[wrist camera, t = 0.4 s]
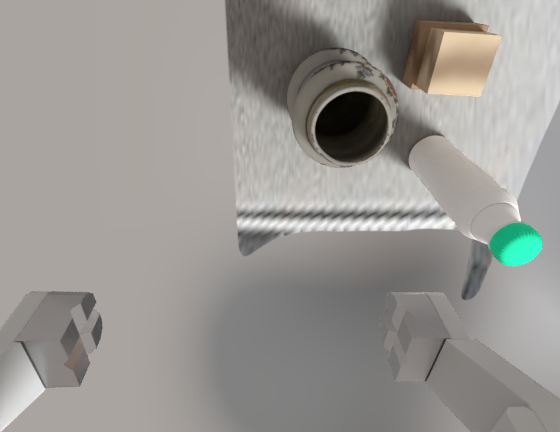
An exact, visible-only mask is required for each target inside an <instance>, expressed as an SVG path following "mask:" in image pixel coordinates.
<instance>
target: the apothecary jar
mask: <svg viewBox="0 0 560 432" xmlns="http://www.w3.org/2000/svg"><path fill="white" fill-rule="evenodd" d="M287 108H288V112H289V115H290V118H291V120H292V126H293V131H294V135H295V137H296V140H297V142H298V144H299V145H300V147H301V148H302V150H303V151H304V152H305V153H306V154H307V155H308V156H309V157H310V158H312V159H313V160H315V161H316V162H318V163H320V164H323V165H326V166H330V167H338V168H344V167H351V166H355V165H359V164H362V163H365V162H367V161H369V160H371V159H372V158H374V157H375V156H376V155H377V154H379V153H380V152H381V150H382V149H383V148H384V147H385V146H386V144H387V143H388V141H389V140H390V138H391V137H392V135H393V133H394V130H395V128H396V125H397V121H398V113H399V106H398V99H397V95H396V92H395V89H394V87H393V85H392V84H391V82H390V81H389V79H388V78H387V77H386V76H385V75H384V74H383V73H382V72H381V71H380V70H378V69H377V68H375V67H373V66H372V65H371V64H370V63H369V62H368V61H367V60H366V59H365V58H364V57H363V56H362V55H360V54H358V53H357V52H354V51H352V50H349V49H344V48H330V49H325V50H321V51H318V52H316V53H314V54H312V55H311V56H309V57H308V58H307V59H305V60H304V61H303V62H302V63H301V64H300V65H299V66H298V68H297V69H296V71H295V72H294V74H293V76H292V78H291V80H290V83H289V86H288V90H287Z"/></svg>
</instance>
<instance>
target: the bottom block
mask: <svg viewBox="0 0 560 432" xmlns="http://www.w3.org/2000/svg"><path fill="white" fill-rule="evenodd" d="M488 27H489V26H488V25H483V24H478V23H471V22H452V21H432V20H416V22H415V26H414V31H413V35H412V40H411V44H410V49H409V53H408V58H407V62H406V67H405V71H404V76H403V80H402V83H403V84H405V85H406V86H407V87H409V88H410V89H420V88H418V87H417V86H416V83H417V79H418V75H419V71H420V68H421V64H422V60H423V56H424V52H425V48H426V44H427V41H428V37H429V33H430V29H431V28H441V29H455V30H470V31H484V32H487V30H488Z"/></svg>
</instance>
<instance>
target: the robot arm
mask: <svg viewBox="0 0 560 432" xmlns="http://www.w3.org/2000/svg"><path fill="white" fill-rule="evenodd" d="M95 304H96V300H95V297H94V295H93V293H89V292H55V291H52V292H42V291H41V292H39V291H32V292H30V293H28V294H26V295H25V297H24V298H23V299H22V301H21V302H20V303H19V305H18V306H17V308H16V309H15V310H14V312H13V313H12V314H11V316H10V317H9V319H8V320H7V321H6V322H5V324H4V325H3V326H2V328H1V329H0V432H1V431H2V430H3V429H4V428H5V427H6V426H8V425H9V424H10V423H11V422H12V421H13V420H14V419H15V418H16V417H17V416H18V415H19V414H20V413H21V412H22V411H23V410H25V409H26V408H27V407H28V406H29V405H30V404H31V403H32V402H33V401H34V400H35V399H36V398H37V397H38V396H39V395H40V394H41V393H42V392H44V391H45V388H53V387H77V386H80V385H81V383H82V380H83V378H84V376H85V374H86V372H87V369H88V367H89V365H90V362H89V359H88V355H89V354H90V353H91V352H93V351H94V350H95V349H96V348H97V346H98V344H99V341H100V339H101V333H102V319H101V315H100V313H98V312H97V311H96V310H95V309H93V308H94V306H95ZM385 304H386V307H387V309H386V310H385V311H384V312H382V314H381V318H380V325H379V327H380V328H379V331H380V337H381V340H382V343H383V346H384V347H385V348H386V349H387V350H388V351H390V356H389V358H388V362H389V365H390V367H391V370H392V373H393V376H394V379H395V381H396V382H426V385H427V386H428V387H429V388H430V389H431V390H432V391H433V392H434V393H435V394H436V395H437V396H438V397H439V398H440V400H441V401H442V402H443V403H444V404H445V405H446V406H447V407H448V408H449V409H450V410H451V411H452V412H453V413H454V414H455V415H456V417H457V418H458V419H459V420H460V421H461V422H462V423H463V424H464V425H465V426H466V427H467V428H468V429H469V430H470V431H471V432H560V398H558V397H557V396H555V395H554V394H553V393H551V392H550V391H548V390H547V389H546V388H544V387H543V386H541V385H540V384H539V383H537V382H536V381H534V380H533V379H531V378H530V377H529V376H527V375H526V374H525V373H523V372H522V371H520V370H519V369H518V368H516V367H515V366H513V365H512V364H511V363H509V362H508V361H506V360H505V359H503V358H502V357H501V356H499V355H498V354H497V353H495V352H494V351H492V350H491V349H490V348H488V347H487V346H485V345H484V344H483V343H481V342H480V341H478V340H477V339H471V338H470V336H469V334H468V333H467V331H466V330H465V328H464V326H463V324H462V323H461V321H460V319H459V317H458V316H457V314H456V312H455V311H454V309H453V307H452V306H451V304H450V302H449V301H448V299H447V297H446V296H445V295H444V294H443V293H442V292H430V293H429V292H424V293H422V292H421V293H420V292H418V293H417V292H414V293H413V292H412V293H389V294H388V295H387V297H386V300H385Z"/></svg>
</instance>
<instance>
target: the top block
mask: <svg viewBox="0 0 560 432" xmlns="http://www.w3.org/2000/svg"><path fill="white" fill-rule="evenodd" d="M501 38H502V36H501V35H497V34H493V33H489V32H484V31H470V30H455V29H441V28H431V29H430V33H429V37H428V41H427V44H426V48H425V52H424V56H423V60H422V64H421V68H420V71H419V75H418V79H417V83H416V86H417V87H418V88H420V89H421V90H423V91H424V92H426V93H427V94H443V95H461V96H479V97H480V96H481V93H482V91H483V88H484V85H485V82H486V80H487V77H488V74H489V71H490V68H491V66H492V63H493V60H494V57H495V54H496V52H497V49H498V46H499V43H500V40H501Z"/></svg>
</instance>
